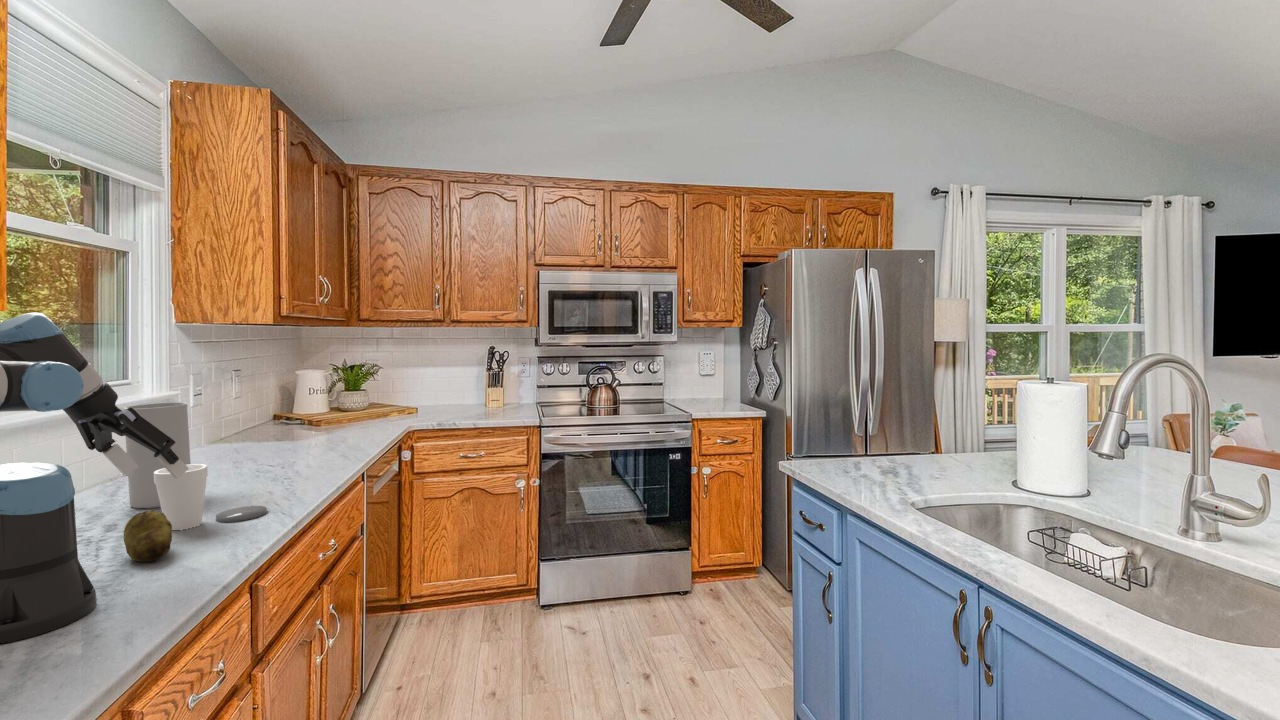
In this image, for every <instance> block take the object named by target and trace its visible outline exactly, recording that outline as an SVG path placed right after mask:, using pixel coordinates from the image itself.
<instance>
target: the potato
mask: <svg viewBox="0 0 1280 720" xmlns="http://www.w3.org/2000/svg"><path fill="white" fill-rule="evenodd" d="M172 541H173V531H172V525H171V523H170V521H169V520H167V518H166V516H165V515H164V513H162V511H157V510H147V511H142V512H138V513H137V514H135V515H133V516H132V517H131V518H130V519H129V520H128V522H127V523H126V525H125V527H124V530H123V542H124V545H125V550H126V553H127V555H128V556H129V558H131V559H132V560H133V561H136V562H139V563H144V562H145V563H146V562H156V561H158V560H160V559H162V558H164V556H166V555H167V553H169V551H170V549H171V544H172Z"/></svg>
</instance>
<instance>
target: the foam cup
mask: <svg viewBox="0 0 1280 720" xmlns="http://www.w3.org/2000/svg"><path fill="white" fill-rule="evenodd" d="M186 466H187V467H188V468H189V469H188V470H187V471H186V472H185V473H183V474H182V475H181V476H180V477H179V478H178V479H175V478H174V477H173V476H172V475H171V474H170V472H169V471H168V470H167V469H166V468H163V469H159V470H157V471H155V472H154V483H155V484H156V487H157V492H158V496H159V500H160V504H161V507H160V509H161V513H164V515H165V516H166V518H167V520H169V521H170V523H171V525H172V530H180V531H182V530H181V529H186V530H189V529H188V528H190V529H193V528H192V527H194V528H196V526H197V527H199V526H201V525H202V524H203V516H204V505H205V497H206V485H207V477H208V476H209V474H208V465H207V464H204V463H203V464H201V463H193V464H192V463H191V464H188V465H186ZM200 524H201V525H200Z"/></svg>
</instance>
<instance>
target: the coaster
mask: <svg viewBox="0 0 1280 720" xmlns="http://www.w3.org/2000/svg"><path fill="white" fill-rule="evenodd" d="M267 509H268V508H267V507H266V506H263V505H249V506H248V505H247V506H240V507H239V506H238V507H235V508H229V509H226V510H223V511H221V512H219V513H217V514H216V516H215V521H217V522H219V523H237V522H236V521H239V522H243V521H242V520H245V521H249V520H248V519H250V520H253V518H254V519H256V517H257V518H260V517H262V516H264V515H266V514H267V513H268V510H267ZM259 516H260V517H259Z"/></svg>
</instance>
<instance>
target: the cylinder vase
mask: <svg viewBox="0 0 1280 720" xmlns="http://www.w3.org/2000/svg"><path fill="white" fill-rule="evenodd" d="M129 407H131V408H133V409H134V410H135V411H136V412H137V413H138V414H139V415H140V416H141V417H143V418H144V419H145V420H147V421H148V422H149V423H151V424H152V425H154V426H155V427H156V428H158V429H159V430H160V431H162V432H163V433H165V434H166V435H167V436H169V437H170V438H171V439H173V440H174V441H175V442H176V443H175V444H174V445H173V446H172V447H170V448H171V449H172V450H173V451H174V452H175V454H176V455H177V456H178V457H179V458H180V459H181V460H182V461H183V463H184V464H185V465H188V464H192V463H191V450H190V449H191V448H190V431H189V430H190V429H189V416H188V415H189V414H188V403H187V402H183V401H182V402H181V401H179V402H177V401H174V402H172V401H171V402H158V403H157V402H156V403H146V404H145V403H143V404H135V405H129V406H125V407H123V411H125V410H127V409H128V408H129ZM125 449H126V451H125V452H126V453H127V454H128V455H129V456H130V457H131V459H132V460H133V461H134V462H135V463H136V464H137V465H138V466H139V467H138V468H137V469H135V470H134V471H133V472H132V473H131V474H130V475H129V476H127V479H128V480H127V481H128V496H129V505H130V506H131V507H132V508H134V509H140V508H147V509H157V508H161V504H160V500H159V496H158V492H157V487H156V484H155V483H154V472H155V471H157V470H159V469H163V468H165V467H164V466H163V465H162V464H161V463H160V462H159V460H158V459H157V458H156V457H154V454H155V452H153V451H151V450H149V449H148V448H146V447H144V446H142V445H141V444H139V443H137V442H135V441H134V440H132V439H130V438H128V437H127V436H125Z"/></svg>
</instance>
